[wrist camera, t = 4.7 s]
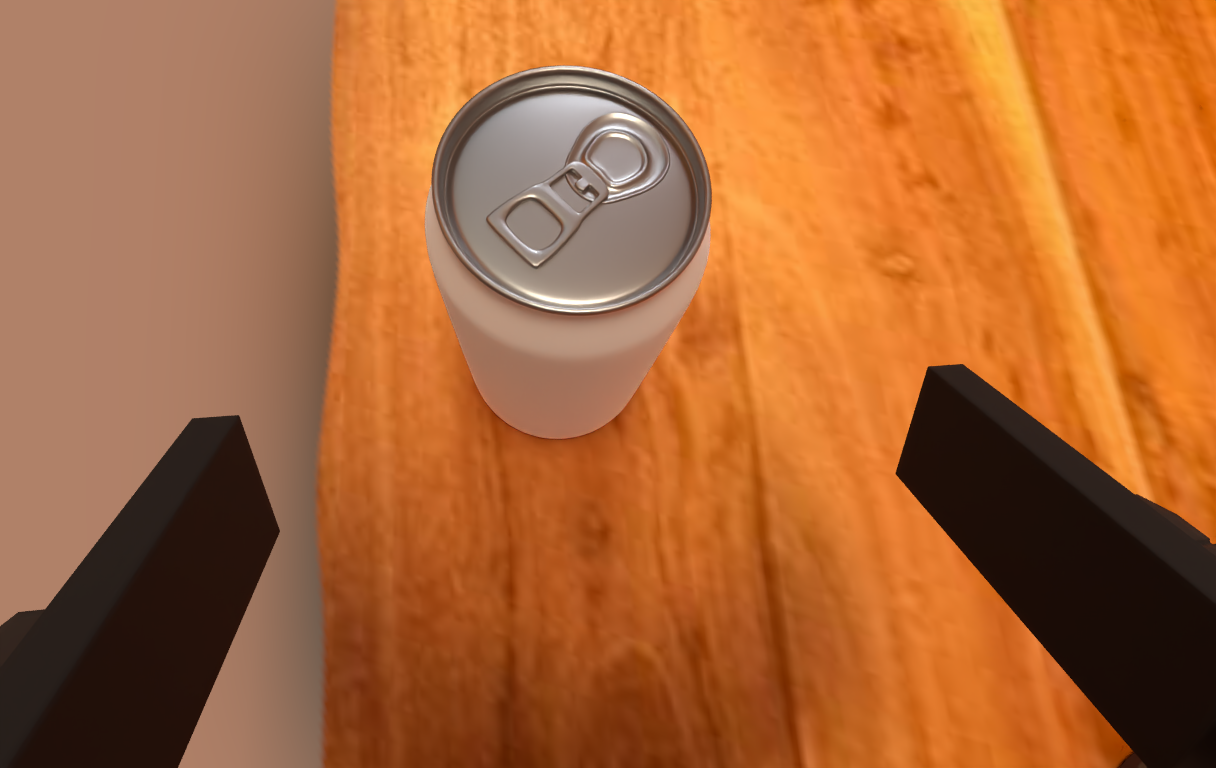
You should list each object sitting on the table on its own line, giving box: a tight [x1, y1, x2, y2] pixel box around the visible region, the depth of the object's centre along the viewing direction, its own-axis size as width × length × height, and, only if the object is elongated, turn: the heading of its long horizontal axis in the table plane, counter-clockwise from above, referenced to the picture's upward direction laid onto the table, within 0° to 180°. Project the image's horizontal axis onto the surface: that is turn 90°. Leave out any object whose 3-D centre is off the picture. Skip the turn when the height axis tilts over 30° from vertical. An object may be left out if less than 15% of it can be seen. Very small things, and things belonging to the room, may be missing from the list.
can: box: [425, 66, 712, 439], centre depth 18 cm, size 6×6×12 cm
